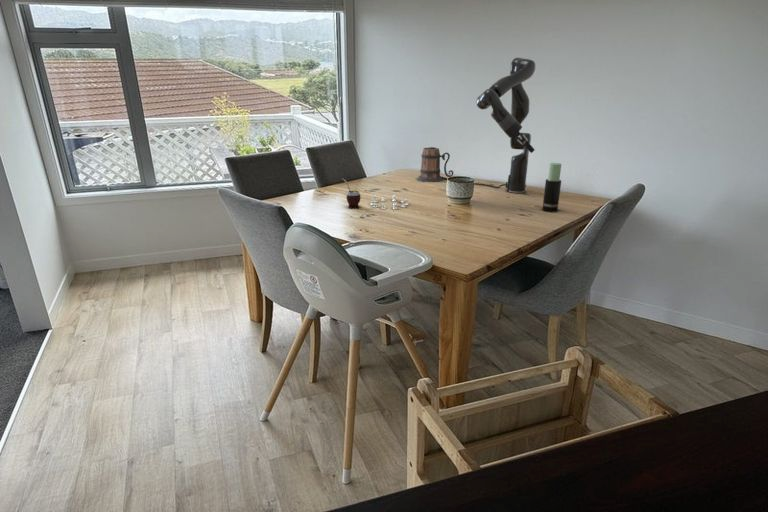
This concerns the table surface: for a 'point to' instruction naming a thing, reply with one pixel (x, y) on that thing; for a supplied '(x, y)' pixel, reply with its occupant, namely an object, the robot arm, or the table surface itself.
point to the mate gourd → (352, 197)
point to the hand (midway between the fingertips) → (531, 150)
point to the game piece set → (392, 200)
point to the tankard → (432, 165)
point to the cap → (554, 172)
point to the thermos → (551, 196)
